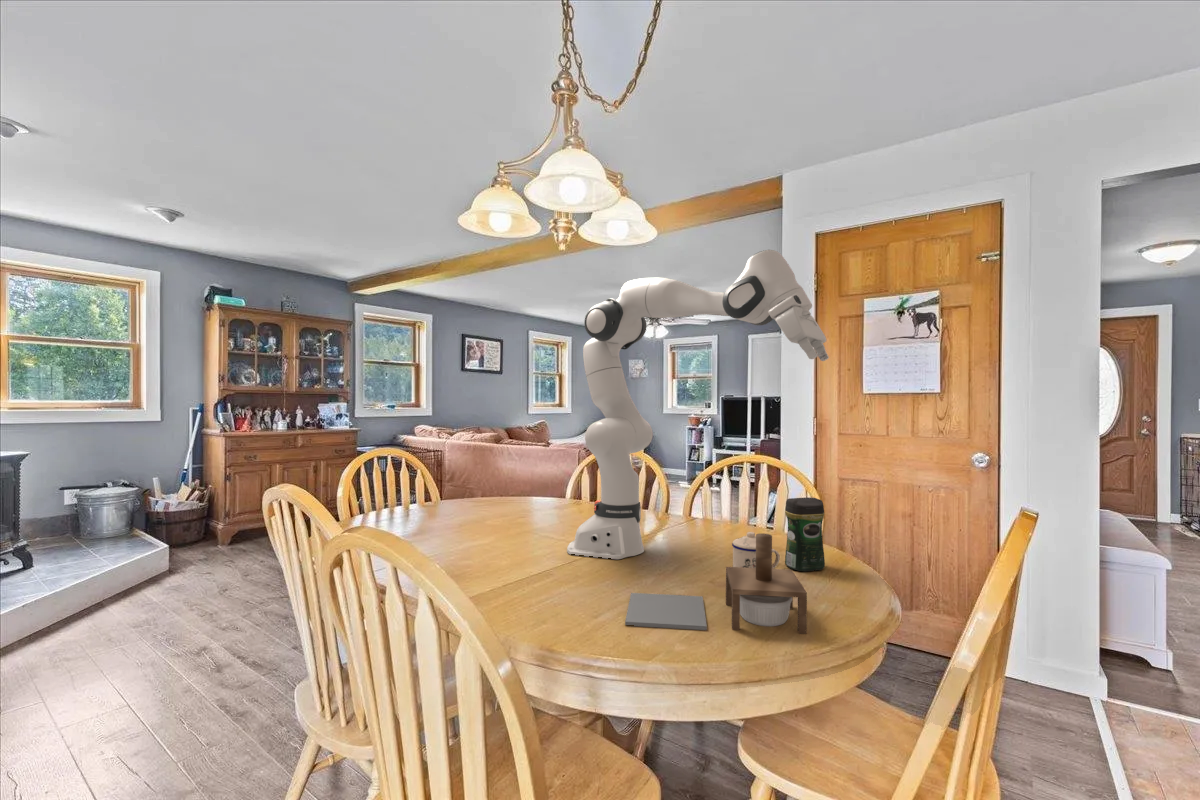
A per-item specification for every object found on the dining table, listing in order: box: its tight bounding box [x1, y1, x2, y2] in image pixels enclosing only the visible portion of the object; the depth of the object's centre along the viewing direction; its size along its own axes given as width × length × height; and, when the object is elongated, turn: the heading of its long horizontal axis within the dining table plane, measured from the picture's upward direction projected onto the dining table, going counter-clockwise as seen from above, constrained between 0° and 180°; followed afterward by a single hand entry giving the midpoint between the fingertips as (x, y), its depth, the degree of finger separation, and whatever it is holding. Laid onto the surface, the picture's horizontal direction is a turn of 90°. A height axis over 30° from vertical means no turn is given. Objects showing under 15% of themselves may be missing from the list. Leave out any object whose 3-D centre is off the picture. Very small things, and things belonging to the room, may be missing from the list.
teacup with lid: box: [731, 531, 781, 569], centre depth 139 cm, size 12×9×12 cm
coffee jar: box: [784, 497, 826, 572], centre depth 148 cm, size 10×8×19 cm
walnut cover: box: [725, 532, 808, 635], centre depth 115 cm, size 14×14×17 cm
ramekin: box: [740, 595, 792, 627], centre depth 115 cm, size 11×11×5 cm
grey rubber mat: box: [624, 592, 708, 631], centre depth 118 cm, size 16×16×1 cm
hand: (819, 359), depth 129 cm, fingers open, 8 cm apart
